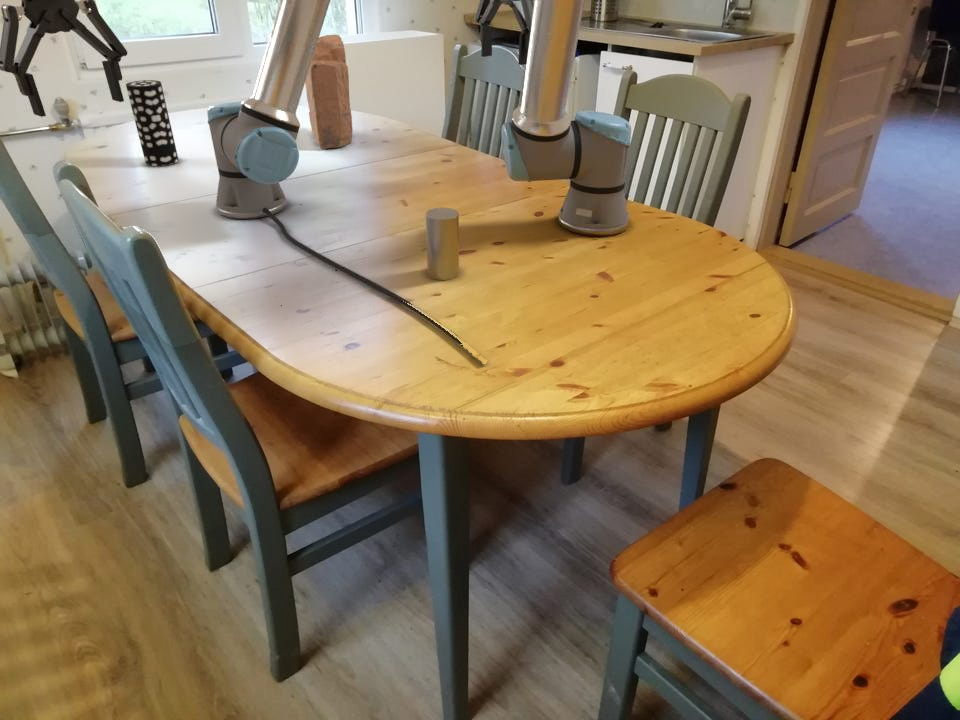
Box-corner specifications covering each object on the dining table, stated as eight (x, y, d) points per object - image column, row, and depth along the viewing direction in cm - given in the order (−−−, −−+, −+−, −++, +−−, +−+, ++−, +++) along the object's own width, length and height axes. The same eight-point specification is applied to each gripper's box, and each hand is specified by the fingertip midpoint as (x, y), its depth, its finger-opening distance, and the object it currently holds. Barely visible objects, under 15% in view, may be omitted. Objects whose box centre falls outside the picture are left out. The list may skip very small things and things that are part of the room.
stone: (358, 147, 199) (349, 40, 185) (319, 150, 196) (306, 42, 182) (347, 131, 217) (337, 33, 202) (310, 134, 214) (298, 34, 199)
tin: (428, 266, 133) (426, 207, 126) (459, 266, 133) (458, 207, 126) (426, 280, 128) (424, 219, 121) (458, 280, 128) (458, 219, 121)
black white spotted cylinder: (184, 157, 190) (167, 80, 179) (169, 166, 183) (151, 87, 172) (155, 156, 190) (136, 79, 179) (139, 165, 183) (119, 86, 172)
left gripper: (-41, -28, 98) (13, 125, 109) (126, -36, 114) (158, 98, 126) (-62, -30, 102) (-7, 118, 113) (103, -38, 118) (137, 92, 130)
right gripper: (459, -45, 159) (460, 54, 171) (533, -40, 143) (528, 69, 154) (485, -46, 163) (483, 51, 175) (559, -41, 147) (552, 66, 158)
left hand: (80, 107), depth 120 cm, fingers open, 13 cm apart
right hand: (504, 60), depth 165 cm, fingers open, 13 cm apart
